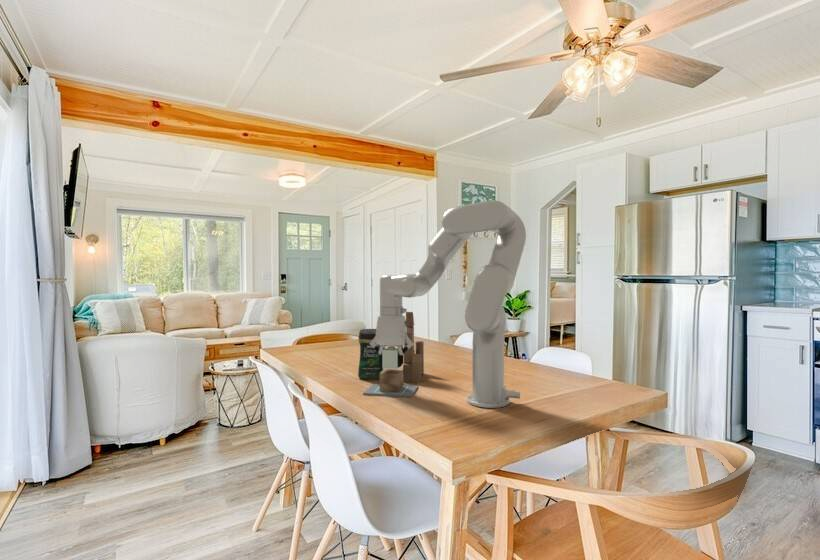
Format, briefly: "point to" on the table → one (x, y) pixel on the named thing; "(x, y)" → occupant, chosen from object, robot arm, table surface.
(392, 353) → the sage block
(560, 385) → the table surface
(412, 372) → the wooden toy
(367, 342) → the coffee jar
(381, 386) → the walnut block
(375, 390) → the slate mat
